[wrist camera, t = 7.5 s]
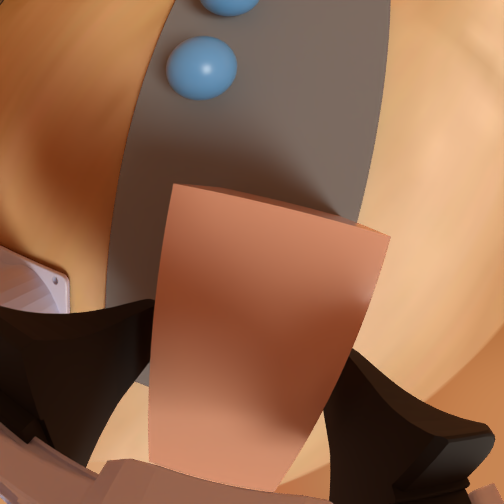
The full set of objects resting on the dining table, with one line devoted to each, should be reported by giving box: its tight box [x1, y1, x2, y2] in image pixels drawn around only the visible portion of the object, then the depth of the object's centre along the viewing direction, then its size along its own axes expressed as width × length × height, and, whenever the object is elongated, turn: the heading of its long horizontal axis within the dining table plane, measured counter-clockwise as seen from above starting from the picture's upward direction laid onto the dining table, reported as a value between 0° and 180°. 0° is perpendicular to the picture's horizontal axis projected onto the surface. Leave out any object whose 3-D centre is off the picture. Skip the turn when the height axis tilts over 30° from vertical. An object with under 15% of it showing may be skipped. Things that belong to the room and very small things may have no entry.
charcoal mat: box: [105, 0, 390, 387], centre depth 13 cm, size 12×26×1 cm, turn 167°
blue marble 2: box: [166, 36, 237, 101], centre depth 10 cm, size 3×3×3 cm
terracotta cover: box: [148, 184, 391, 492], centre depth 11 cm, size 5×11×6 cm, turn 167°
